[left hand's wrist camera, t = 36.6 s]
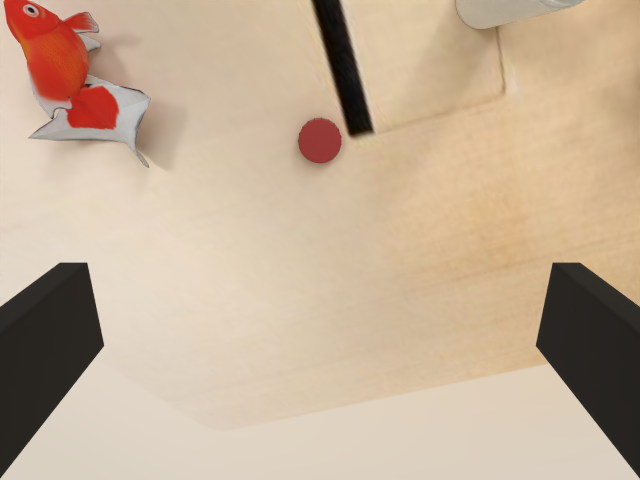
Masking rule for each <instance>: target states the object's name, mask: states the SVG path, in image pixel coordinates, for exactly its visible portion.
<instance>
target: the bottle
mask: <svg viewBox="0 0 640 480" xmlns="http://www.w3.org/2000/svg"><path fill="white" fill-rule="evenodd" d="M583 1H585V0H456V8H457V12H458V14H459V16H460V18H461V19H462V21H463V22H464V23H465V24H467V25H468V26H470V27H472V28H476V29H487V28H491V27H495V26H499V25H503V24H507V23H511V22H515V21H519V20H523V19H527V18H531V17H535V16H539V15H543V14H547V13H551V12H555V11H559V10H563V9H567V8H570V7H573V6H576V5H578V4H580V3H581V2H583Z"/></svg>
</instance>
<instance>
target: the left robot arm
mask: <svg viewBox="0 0 640 480" xmlns="http://www.w3.org/2000/svg"><path fill="white" fill-rule="evenodd" d="M103 347H104V342H103V338H102V333H101V328H100V323H99V318H98V313H97V308H96V303H95V298H94V294H93V289H92V284H91V279H90V274H89V269H88V264H87V263H59V264H58V265H56V266H55V267H54V268H52V269H51V270H49V271H48V272H47V273H45V274H44V275H43V276H41V277H40V278H39V279H37V280H36V281H35V282H33V283H32V284H31V285H29V286H28V287H26V288H25V289H24V290H22V291H21V292H20V293H18V294H17V295H16V296H14V297H13V298H12V299H10V300H9V301H8V302H6V303H5V304H4V305H2V306H1V307H0V478H1V477H2V475H3V474H4V473H5V472H6V470H7V469H8V468H9V467H10V465H11V464H12V463H13V461H14V460H15V459H16V458H17V456H18V455H19V454H20V453H21V451H22V450H23V449H24V447H25V446H26V445H27V444H28V442H29V441H30V440H31V438H32V437H33V436H34V435H35V433H36V432H37V431H38V429H39V428H40V427H41V426H42V424H43V423H44V422H45V421H46V419H47V418H48V417H49V416H50V414H51V413H52V412H53V410H54V409H55V408H56V407H57V405H58V404H59V403H60V401H61V400H62V399H63V398H64V396H65V395H66V394H67V393H68V391H69V390H70V389H71V387H72V386H73V385H74V384H75V382H76V381H77V380H78V378H79V377H80V376H81V375H82V373H83V372H84V371H85V370H86V368H87V367H88V366H89V364H90V363H91V362H92V361H93V359H94V358H95V357H96V356H97V354H98V353H99V352H100V350H101V349H102V348H103ZM536 347H537V348H538V349H539V350H540V352H541V353H542V354H543V356H544V357H545V358H546V359H547V361H548V362H549V363H550V364H551V366H552V367H553V368H554V369H555V371H556V372H557V373H558V375H559V376H560V377H561V378H562V380H563V381H564V382H565V384H566V385H567V386H568V387H569V389H570V390H571V391H572V393H573V394H574V395H575V396H576V398H577V399H578V400H579V401H580V403H581V404H582V405H583V407H584V408H585V409H586V410H587V412H588V413H589V414H590V416H591V417H592V418H593V419H594V421H595V422H596V423H597V424H598V426H599V427H600V428H601V430H602V431H603V432H604V433H605V435H606V436H607V437H608V438H609V440H610V441H611V442H612V444H613V445H614V446H615V447H616V449H617V450H618V451H619V453H620V454H621V455H622V456H623V458H624V459H625V460H626V461H627V463H628V464H629V465H630V467H631V468H632V469H633V470H634V472H635V473H636V474H637V475H638V477H639V478H640V307H639V306H638V305H636V304H635V303H634V302H632V301H631V300H630V299H628V298H627V297H626V296H624V295H623V294H622V293H620V292H619V291H618V290H616V289H615V288H614V287H612V286H611V285H609V284H608V283H607V282H605V281H604V280H603V279H601V278H600V277H599V276H597V275H596V274H595V273H593V272H592V271H591V270H589V269H588V268H586V267H585V266H584V265H582V264H581V263H553V264H552V269H551V274H550V279H549V284H548V289H547V294H546V298H545V303H544V308H543V313H542V318H541V323H540V328H539V333H538V337H537V342H536Z"/></svg>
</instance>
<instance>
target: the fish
mask: <svg viewBox="0 0 640 480" xmlns="http://www.w3.org/2000/svg"><path fill="white" fill-rule="evenodd" d="M4 7H5V13H6V20H7V24H8V27H9V29H10V31H11V32H12V34H13V36H14V37H15V38H16V40H17V41H18V42H19V43H20V44H21V46H22V49H23V51H24V54H25V57H26V59H27V67H28V73H29V77H30V82H31V86H32V90H33V93H34V96H35V98H36V99H37V101H38V102H39V104H40V106H41V107H42V108H43V109H44V111H45V112H46V113H47V114H48V115H49V117H50V118H51V119H53V118H54V111H55V110H56V109H58V108H61V110H60V111H59V113H58V115H57V117H56V118H55V119H53V120H52V121H50V122H49V123H47V124H46V125H44V126H42V127H41V128H39V129H38V130H37V131H36V132H35V133H33V134H32V135H31V136H30V137H28V138H32V139H44V140H108V141H118V142H124V143H126V144H127V145H128V146H129V147H130V149H131V150H132V151H133V152H134V153H135V154H136V155H137V157H138V158H139V159H140V160H141V162H142V163H143V165H145V166H146V167H148V168H149V166H148V163H147V162H146V160H145V159H144V157H143V156H142V155H141V153H139V152H138V151H136V136H137V132H138V128H139V124H140V122H141V120H142V118H143V116H144V113H145V111H146V109H147V107H148V104H149V102H150V99H151V98H149V97H148V96H147V95H145V94H144V93H143V92H141V91H140V90H136V89H131V88H126V87H121V86H117V85H115V84H113V83H111V82H108V81H106V80H103V79H99V78H96V77H94V76H92V75H90V74H88V70H89V58H88V52H89V51H91V50H93V49H96V48H99V47H100V46H101V45H100V43H99V42H97V41H96V40H93V39H91V38H89V37H86V36H84V35H82V34H77V33H85V32H94V33H98V32H99V29H98V25H97V24H96V22H95V21H94V20H93V19H92V17H91V15H90V14H89V12H83V13H78V14H75V15H73V16H71V17H69V18H67V19H66V20H64V21H62V20H60V19H59V18H58V16H57V15H55V14H53V13H52V12H50V11H48V10H47V9H45V8H43V7H41V6H40V5H38V4H36V3H34V2H31V1H28V0H5V1H4ZM84 84H85V85H84Z"/></svg>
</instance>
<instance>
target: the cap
mask: <svg viewBox="0 0 640 480" xmlns="http://www.w3.org/2000/svg"><path fill="white" fill-rule="evenodd" d="M299 135H300V136H299V140H298V142H299V147H300V150H301V152H302V154H303V155H304V156H305V157H306V158H307V159H308V160H310V161H312V162H315V163H324V162H328V161H330V160H331V159H333V158H334V157H335V156H336V155H337V153H338V152H339V150H340V147H341V135H340V133H339V129H338V128H337V127H336V126H335V124H333V123H332V122H331V121H329V120H327V119H323V118H317V119H315V118H314V119H313V120H311V121H308V122H307V123H306V124H305V125H304V126H303V127H302V130H301V132H300V133H299Z"/></svg>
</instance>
